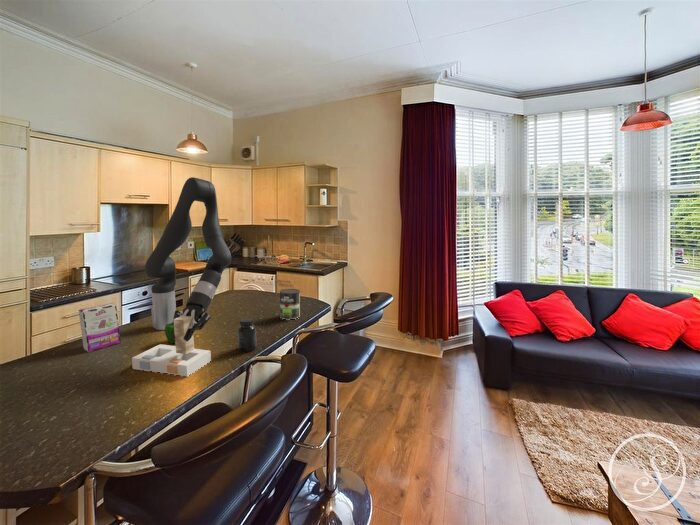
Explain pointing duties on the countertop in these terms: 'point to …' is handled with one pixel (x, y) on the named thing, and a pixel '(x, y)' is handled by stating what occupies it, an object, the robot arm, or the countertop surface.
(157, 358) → the socket hub
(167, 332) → the bell pepper
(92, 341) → the candy bar box
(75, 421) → the countertop surface
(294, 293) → the coffee can
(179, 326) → the beech plug
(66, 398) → the countertop surface
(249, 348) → the supplement bottle
